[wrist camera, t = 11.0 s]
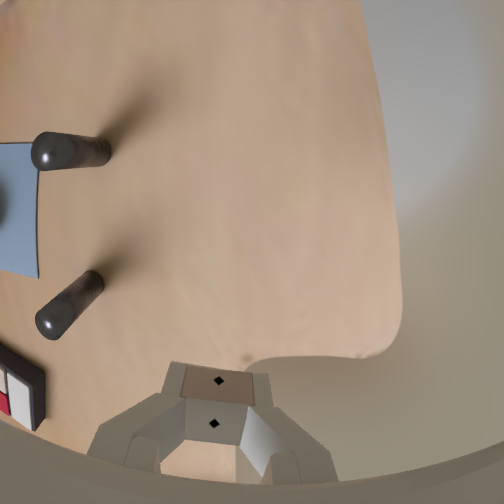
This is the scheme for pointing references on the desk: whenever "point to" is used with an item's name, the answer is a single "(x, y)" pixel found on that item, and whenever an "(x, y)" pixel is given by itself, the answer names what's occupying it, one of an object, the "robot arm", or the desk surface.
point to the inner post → (68, 151)
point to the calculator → (21, 389)
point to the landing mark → (18, 210)
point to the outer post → (68, 305)
